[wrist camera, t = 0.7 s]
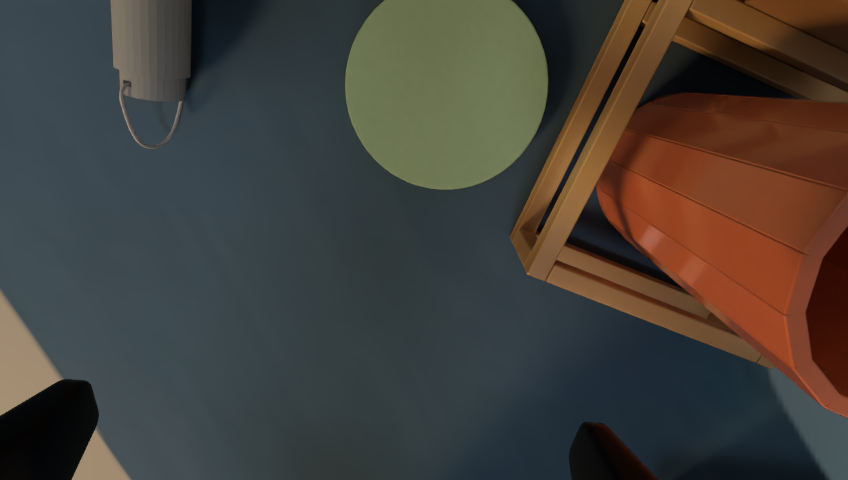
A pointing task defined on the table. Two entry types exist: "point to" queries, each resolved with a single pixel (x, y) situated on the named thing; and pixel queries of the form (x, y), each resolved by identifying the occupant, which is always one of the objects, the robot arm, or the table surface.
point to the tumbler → (746, 220)
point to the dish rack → (663, 22)
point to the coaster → (446, 88)
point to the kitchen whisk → (152, 52)
